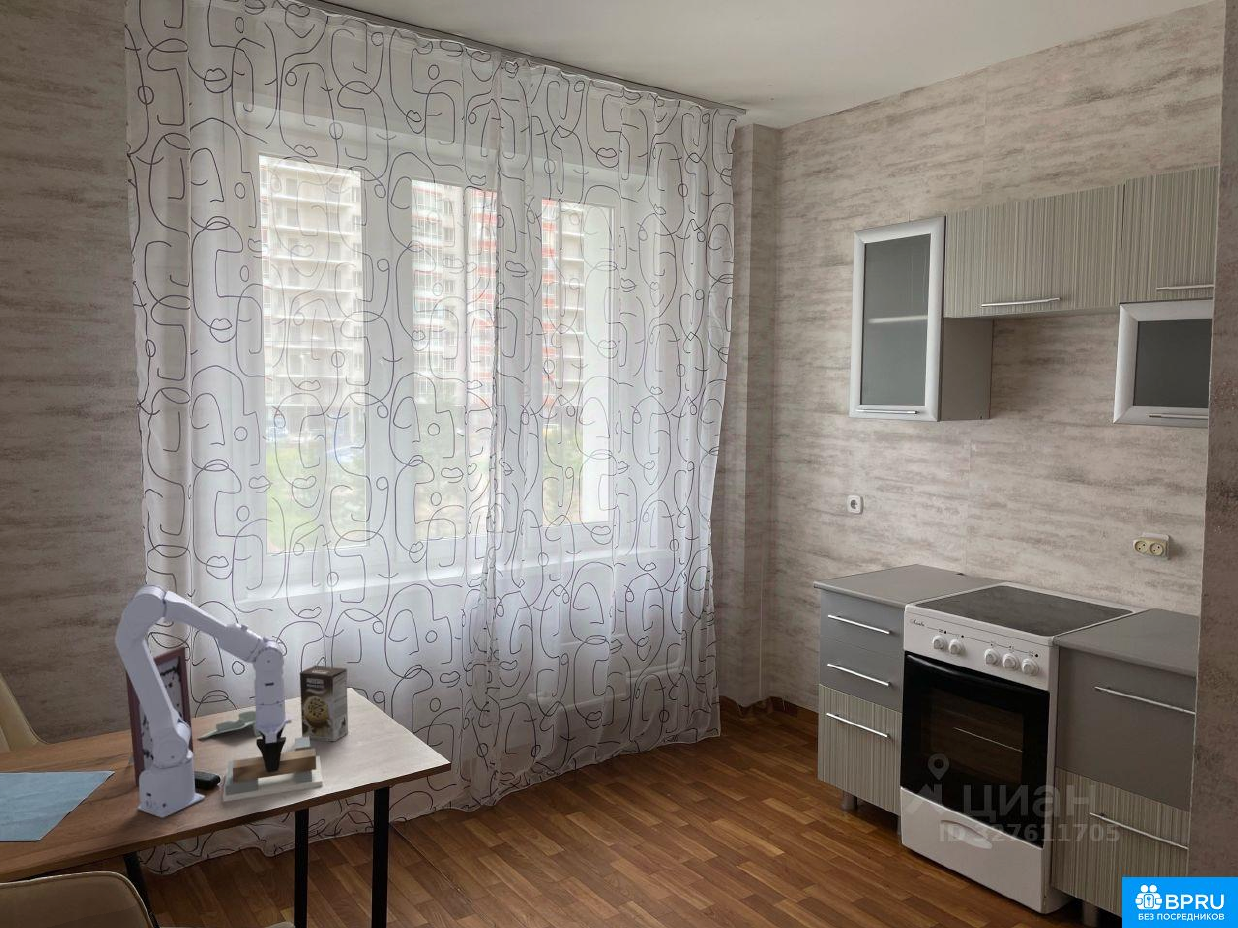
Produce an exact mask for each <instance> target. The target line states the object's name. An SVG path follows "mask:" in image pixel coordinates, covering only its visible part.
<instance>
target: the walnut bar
mask: <svg viewBox="0 0 1238 928" xmlns="http://www.w3.org/2000/svg"><path fill="white" fill-rule="evenodd" d="M316 756H317V753H316V748H310V749H308V750H301V751H295V750H294V751H289V752H281V756H280V764H279V769H278V771H275V772H267V770H266V767H265V763H264V759H263V756H261V755H260V756H256V757H255V756H253V757H254V758H253V757H247V759H246V758H241V760H240V759H235V760H234V762H233V782H239V781H246V780H252V779H258V778H265V777H271V776H278V775H284V774H290V773H297V772H303V771H310V770H316Z"/></svg>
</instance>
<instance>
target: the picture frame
mask: <svg viewBox="0 0 1238 928" xmlns="http://www.w3.org/2000/svg"><path fill="white" fill-rule="evenodd" d="M153 660H154V662H155V665H156V667H157V669H158V672H159V674H160V677H161V679H162V681H163V684H164V686H165V689H166V691H167V694H168V696H169V698H170V701H171V703H172V706H173V708H174V709H175V710H176V711H177V712H178V714H179V716H180V718H181V719H182V720H183V721H184V722H185V723H187V724H188V725H189V727H190V729H191V738H190V740H189V745H188V748H189V750H190V751H191V752H192V753H193V754H194V753H195V752H194V743H193V732H192V719H191V708H190V707H191V706H190V695H189V694H190V693H189V685H188V673H187V671H188V670H187V660H186V648H185V646H178V647H176V648H173V649H171V650H168V651H166V652H163V653H162V654H158V655H157V656H153ZM125 678H126V679H125V680H126V687H127V689H126V692H127V700H128V701H127V702H128V711H129V723H130V733H131V734H130V735H131V745H132V746H131V747H132V754H131V756H130V758H129V761H128V763H127V766H128V765H130V764H132V763H133V767H134V778H135V786H139V777H140V774H141V773H142V772H143V771H145V770H147V769H148V768H149V767H150V766H151V765H152V764H153V759H154V757H153V752H152V751H153V741H152V738H151V735H150V728H149V722H148V720H147V717H146V715H145V713H144V710H143V708H142V706H141V703H140V701H139V698H138V696H137V694H136V691H135V689H134V687H133V684H132V682H131V680H130V677H129V675H128V672H127V670H126V669H125Z"/></svg>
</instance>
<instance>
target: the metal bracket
mask: <svg viewBox="0 0 1238 928" xmlns="http://www.w3.org/2000/svg"><path fill="white" fill-rule="evenodd" d="M237 715H238V718H237V719H235V720H227V721H222V722H218V723H216V724H215V728H216V729H213V730H211V731H209V732H208V733H205V734H203V735H200V736H199V737H198V736H197V739H196V740H202V739H207V738H208V737H210V736H213V735H217V734H222V733H226V732H227V733H228V732H231V731H237V730H242V729H244V728H245V727H247V726H250V725H252V727H253V728H252V729H253V733H254V736H255V738H257V737H259V736H261V733H260V732H259V730H258V729H257V728H256V727H255V722H256V710H247V711H244V712H243V711H241V712H240V713H238V714H237Z"/></svg>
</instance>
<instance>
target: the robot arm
mask: <svg viewBox="0 0 1238 928" xmlns="http://www.w3.org/2000/svg"><path fill="white" fill-rule="evenodd" d="M162 618H164V619H163V622H162V624H167V623H176V622H181V623H183V624H186V625H188V626H190V627H192V628H194V629H196V630H198V631H200V632H202V633H204V634H206V635H208V636H210V637H213V638H214V639H216V641H217V646H218V648H219V649H221V650H223V651H225V652H226V653H228V654H230V655H232V656H234V657H236V658H238V660H241V661H243V662H245V663H247V664H252V667H253V669H254V671H255V679H254V701H255V702H254V704H255V711H256V722H255V727H256V728H257V729H258V730H259V732H260V733H261V735H260V736H261V738H258V739H257V738H256V740H255V741H256V746H257V748H258V749H259V751H260V753H261V755H262V756H263V759H264V763H265V767H266V770H267V772H275V771H278V769H279V764H280V756H281V753H283V752H282V751H283V748H284V746H285V744H286V742H287V737H286V736H283V732H284V729H285V727H286V725H288V724H291V723H292V716H288V717H287V716H286V699H285V698H286V695H285V677H284V669H283V666H284V665H285V659H284V653H283V649H282V646H281V645H280V644H279V643H278V642H277V641H276V640H275V639H271V638H270V639H269V637H267V636H265V635H264V636H263V637H262V636H261V635H260V634H257V633H255V632H254V631H252V630H250V629H249V625H248V624H246V623H242V624H239V623H237V622H233V623H228V624H226V623H224V622H223V621H221V620H220V619H218V618H217V617H214V616H213V615H211V614H210V613H208V612H206V611H205V610H203V609H201V608H200V607H198V606H196V605H195V604H193V603H192V602H190V601H188V600H187V599H185V598H183V597H182V596H180V595H179V594H176V593H175V592H173V591H170V590H165V589H164V588H163V587H162V586H160V585H158V584H145V585H143V586H141V587H139V588H137V590H136V591H135V593H134V594H133V595H132V596H131V598H130V599H129V600H128V603H126V606H125V608H124V609H123V611H122V613H121V617H120V620H119V623H118V627H117V630H116V634H115V637H114V643H115V646H116V649H117V651H118V653H119V655H120V659H121V660H122V662H123V665H124V667H125V671H126V670H127V672H128V675H129V677H130V680H131V682H132V684H133V687H134V689H135V691H136V694H137V696H138V698H139V701H140V703H141V706H142V708H143V710H144V713H145V715H146V717H147V720H148V722H149V728H150V735H151V738H152V741H153V751H152V752H153V757H154V759H153V764H152V765H151V766H150V767H149V768H148V769H147V770H145V771H143V772H142V773H141V774H140V777H139V785H138V789H139V805H138V807H137V809H138V810H140V811H142V812H145V813H148V814H150V815H153V816H156V817H158V818H166V817H168V816H169V815H172V814H174V813H176V812H178V811H180V810H182V809H185V808H187V807H190V806H192V805H194V804H196V803H198V802H201V801H202V800H204V799H206V796H205V795H203V794H201V793H197V792H196V785H195V768H194V767H195V764H194V753H192V752H191V751H190V750H189V748H188V745H189V740H190V738H191V729H192V728H191V729H190V727H189V725H188V724H187V723H185V722H184V721H183V720H182V719H181V718H180V716H179V714H178V712H177V711H176V710H175V709H174V708H173V706H172V703H171V701H170V698H169V696H168V694H167V691H166V689H165V686H164V684H163V681H162V679H161V677H160V674H159V672H158V669H157V667H156V665H155V662H154V660H153V658H154V656H153V655H152V653H151V650H150V648H149V645H148V643H147V641H146V639H145V638H146V636H147V635H148V632H149V631H150V629H151V628H152V627H153V626H154V625H156V624H157V623H158V622H159V621H160V620H161V619H162Z"/></svg>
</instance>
